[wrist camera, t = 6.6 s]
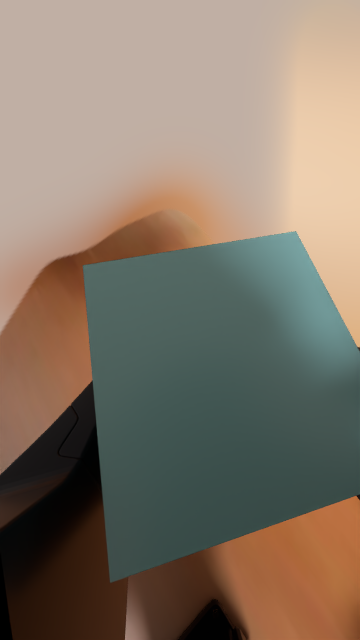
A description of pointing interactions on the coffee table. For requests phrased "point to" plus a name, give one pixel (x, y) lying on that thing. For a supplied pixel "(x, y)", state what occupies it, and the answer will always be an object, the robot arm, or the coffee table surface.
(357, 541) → the coffee table surface
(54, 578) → the robot arm
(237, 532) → the teal square top
